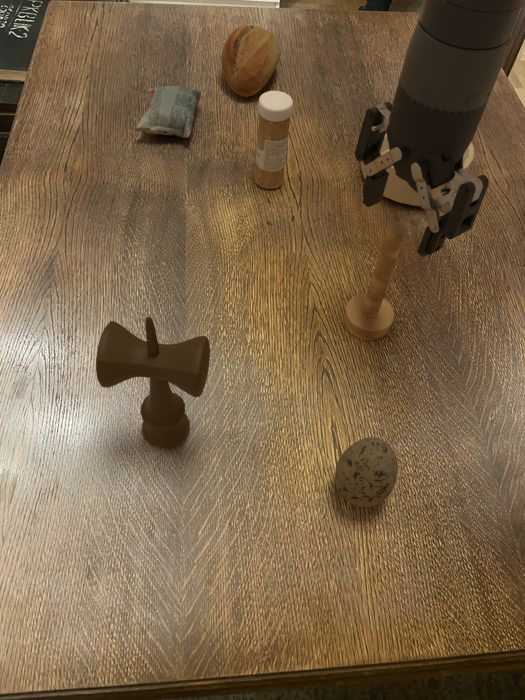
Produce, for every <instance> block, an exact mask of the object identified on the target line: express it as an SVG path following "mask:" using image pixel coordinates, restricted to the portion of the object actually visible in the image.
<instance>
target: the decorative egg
mask: <svg viewBox="0 0 525 700" xmlns="http://www.w3.org/2000/svg"><path fill="white" fill-rule="evenodd" d="M398 466H399V465H398V459H397V455H396V453H395V451H394V449H393V447H392V445H390V443H389V442H387V441H386V440H384V439H382V438H379V437H374V436H371V437H369V436H368V437H365V438H361V439H359V440H357V441H356V442H353V443H351V445H349V446H348V447H347V448H346V449H345V450H344V451H343V453H341V455H340V457H339V458H338V460H337V463H336V465H335V471H334V481H335V485H336V488H337V490H338V492H339V494H340V495H341V496H342V498H343V499H344V500H345V501H346V502H348V503H349V504H351V505H354V506H357V507H361V508H369V507H374V506H377V505H379V504H381V503H382V502H384V501H386V500H387V498H388V497H389V496H390V495H391V493H392V491H393V490H394V488H395V486H396V484H397V480H398V474H399V473H398V471H399V469H398Z"/></svg>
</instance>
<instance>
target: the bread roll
mask: <svg viewBox="0 0 525 700" xmlns="http://www.w3.org/2000/svg"><path fill="white" fill-rule="evenodd" d="M281 54H282V53H281V46H280V43H279V41H278V39H277V38H276V36H275V35H274V33H273V32H272V31H269V30H267V29H265V28H263V27H260V26H254V25H253V24H250V25H249V24H242V25H240V26H238V27H236V28H235V29H234V30H232V31H231V33H230V34H229V36H228V37H227V38H226V41H225V42H224V45H223V48H222V51H221V59H220V60H221V69H222V72H223V75H224V77H225V80H226V83H227V85H228V86H229V88H230V89H231V90H232V91H233V92H234V93H235V94H237V95H238V96H240V97H243V98H246V97H247V98H249V97H251V96H255V95H256V94H257V93H259V92H260V91H261V90H262V89H263V88H264V87H265V86H266V85H267V83H268V82H269V80H270V79H271V77H272V75H273V73H274V72H275V71H276V68H277V67H278V64H279V63H280V59H281Z"/></svg>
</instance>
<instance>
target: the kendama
mask: <svg viewBox="0 0 525 700" xmlns="http://www.w3.org/2000/svg"><path fill="white" fill-rule="evenodd" d="M145 337H146V340H143V339H142V338H140V337H138V336H137V335H135V334H134V333H132V332H131V331H130V330H128V329H127V328H126V327H124V326H123V325H122V324H120V323H119V322H117V321H114V320H110V321H109V322H108V323H107V324H106V325H105V327H104V328H103V331H102V333H101V335H100V338H99V341H98V345H97V351H96V357H95V373H96V379H97V382H98V384H99V385H100V387H101V388H105V389H107V388H111V387H114V386H117V385H120V384H121V383H123V382H125V381H128V380H131V379H133V378H148V379H149V393H148V395H147V396H145V398H143V400H142V403H141V405H140V414H139V415H140V416H141V419H142V423H141V434H142V436H143V440H144V441H145V442H146V443H148V444H149V445H150V446H152V447H154V448H158V449H173V448H176V447H179V446H181V444H183V443H184V442H185V440H186V439H187V438H188V434H189V432H190V423H191V422H190V419H189V417H188V414H187V413H186V404H185V402H184V399H183V397H181V396H180V395H179V394H177V393H175V392H173V391H172V388H171V386H170V384H171V385H173V386H175V387H176V388H178V389H179V390H181V391H183V392H185V393H186V394H188V395H189V396H191V397H194V398H200V397H201V396H202V395H203V392H204V390H205V387H206V383H207V381H208V374H209V368H210V360H211V359H210V358H211V345H210V340H209V338H208V336H205V335H199V336H195V337H192V338H189V339H187V340H184V341H181V342H178V343H171V344H170V343H168V344H167V343H160V342H159V340H158V336H157V332H156V326H155V323H154V320H153V318H152V317H150V316H146V317H145Z"/></svg>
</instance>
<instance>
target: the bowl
mask: <svg viewBox="0 0 525 700" xmlns="http://www.w3.org/2000/svg"><path fill="white" fill-rule="evenodd" d="M388 151H390V149H389V144H388V139H387V133H386V134H385V137H384V141H383V144H382V147H381V150H380V154H381V156H382V155H383V154H385V153H387V152H388ZM474 158H475V146H474V143H473V140H472V141H471V143H470V145H469V146H468V148H467V149H466V151H465V153H464V155H463V169H464V170H465V171H467V172H468V173H469V171H470V168H471V165H472V163H473V162H474ZM360 169H361V173H362V176H363V178H364V180H365V179H366V175H367V174H366V173H365V164H364V163H363V161H360ZM386 171H387V172H388V173H389V176H388V180H387V183H386V187H385V190H384V193H383V197H384V198H387V199H389V200H392V201H394V202H397V203H400V204H405V205H410V206H413V207H414V206H415V207H416V206H417V207H421V205H420V201H419V196H418V192H416V191H415V190H413V189H412V188H411V187H410V185H409V184H408V183H407V182H406V181H405V180H403V179H400V178H399V177H398V176H397V175H396V174H395V173H396V171H395V169H394V167H393V166H392V167H390V168H388V169H386ZM454 185H455V184H454ZM431 192H432V197H433V196H435V195H437V194H439V193H440V192H441V186H439V187H437V188H435V189H433V190H431Z"/></svg>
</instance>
